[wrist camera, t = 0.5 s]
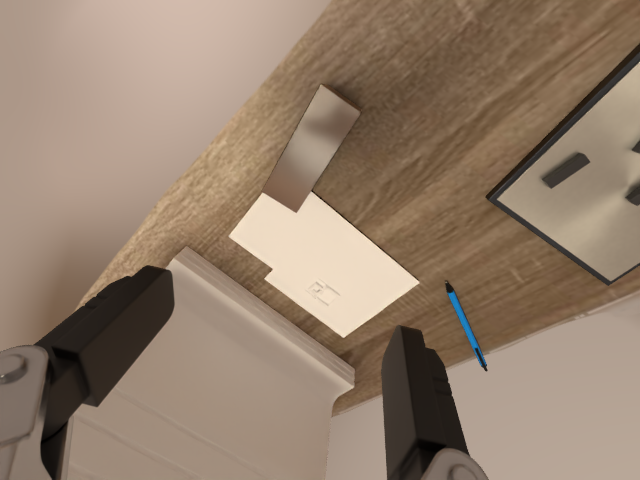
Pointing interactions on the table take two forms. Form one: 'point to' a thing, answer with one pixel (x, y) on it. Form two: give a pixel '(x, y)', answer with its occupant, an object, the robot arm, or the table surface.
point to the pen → (466, 326)
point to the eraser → (311, 147)
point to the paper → (322, 261)
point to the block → (215, 394)
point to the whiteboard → (586, 180)
